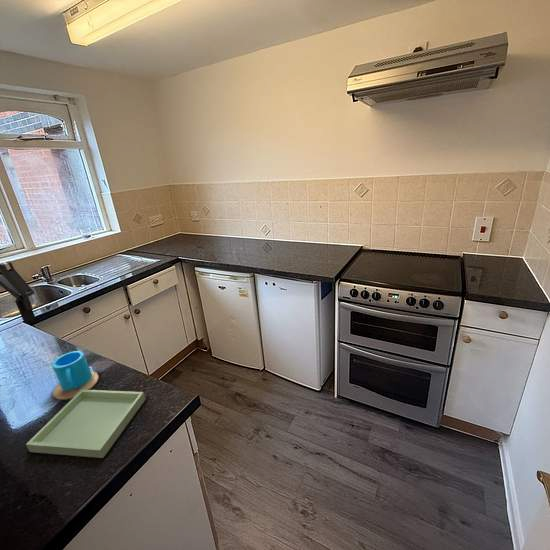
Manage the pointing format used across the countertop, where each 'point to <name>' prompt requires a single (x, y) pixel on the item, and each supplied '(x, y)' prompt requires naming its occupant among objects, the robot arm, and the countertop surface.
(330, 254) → the countertop surface
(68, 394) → the coaster
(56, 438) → the tray
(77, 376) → the mug
